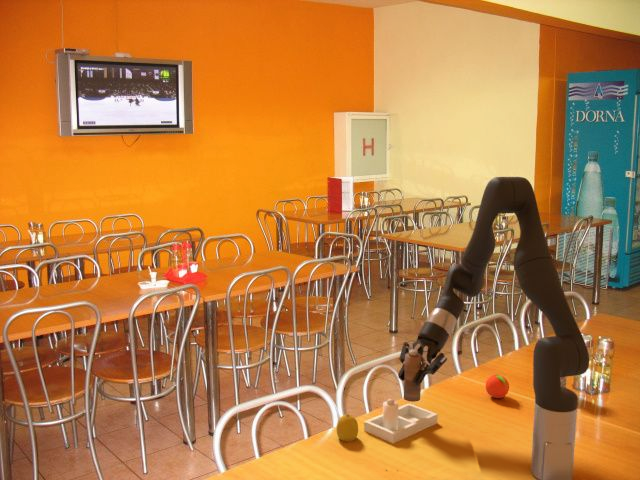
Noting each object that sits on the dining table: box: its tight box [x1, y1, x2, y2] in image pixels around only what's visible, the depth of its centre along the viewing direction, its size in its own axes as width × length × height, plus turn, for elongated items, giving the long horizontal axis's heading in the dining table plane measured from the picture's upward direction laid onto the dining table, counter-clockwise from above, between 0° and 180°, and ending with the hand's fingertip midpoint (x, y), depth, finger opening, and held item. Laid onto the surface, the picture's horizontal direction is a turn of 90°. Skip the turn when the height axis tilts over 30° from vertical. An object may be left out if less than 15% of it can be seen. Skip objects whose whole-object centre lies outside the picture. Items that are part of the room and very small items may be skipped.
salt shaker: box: [382, 398, 399, 431], centre depth 178 cm, size 4×4×9 cm
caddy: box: [363, 403, 439, 444], centre depth 182 cm, size 18×10×4 cm, turn 133°
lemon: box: [336, 413, 359, 443], centre depth 175 cm, size 6×6×8 cm
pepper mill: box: [403, 349, 422, 403], centre depth 183 cm, size 4×4×13 cm
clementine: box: [485, 374, 510, 399], centre depth 205 cm, size 8×7×7 cm
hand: (408, 381), depth 182 cm, fingers closed on pepper mill, 4 cm apart
